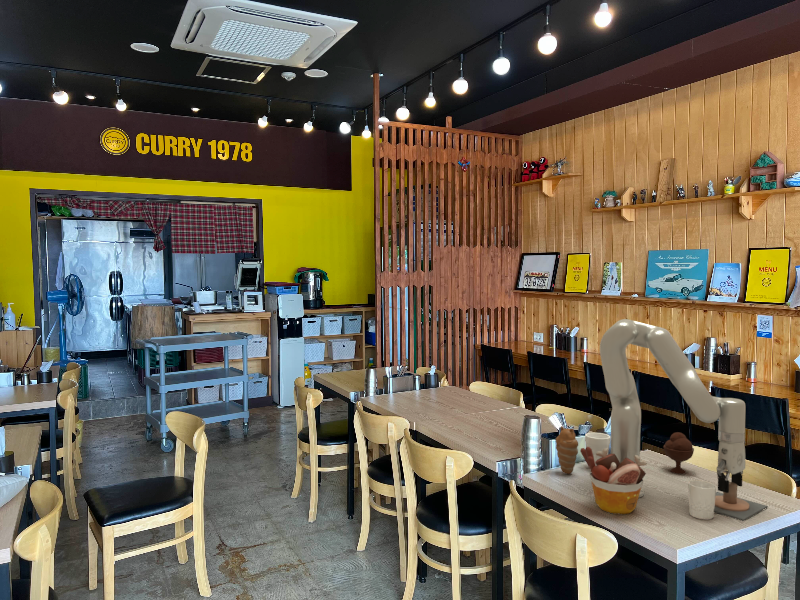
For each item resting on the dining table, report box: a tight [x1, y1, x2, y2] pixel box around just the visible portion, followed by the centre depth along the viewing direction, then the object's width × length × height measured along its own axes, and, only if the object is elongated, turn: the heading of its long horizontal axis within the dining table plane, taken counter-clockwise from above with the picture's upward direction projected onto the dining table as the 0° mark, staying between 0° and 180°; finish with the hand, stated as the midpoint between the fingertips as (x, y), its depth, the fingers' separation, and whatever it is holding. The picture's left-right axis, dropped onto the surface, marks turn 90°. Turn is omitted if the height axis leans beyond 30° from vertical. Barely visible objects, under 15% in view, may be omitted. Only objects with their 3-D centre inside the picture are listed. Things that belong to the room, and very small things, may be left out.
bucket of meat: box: [579, 447, 648, 515], centre depth 191 cm, size 20×16×20 cm
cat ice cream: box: [554, 425, 579, 475], centre depth 225 cm, size 9×8×18 cm
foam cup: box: [584, 432, 611, 466], centre depth 232 cm, size 10×9×13 cm
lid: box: [715, 481, 749, 511], centre depth 193 cm, size 11×11×7 cm
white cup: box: [687, 479, 717, 521], centre depth 186 cm, size 8×8×10 cm
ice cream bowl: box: [662, 431, 695, 475], centre depth 228 cm, size 11×11×15 cm
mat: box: [714, 491, 769, 522], centre depth 194 cm, size 18×16×1 cm
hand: (730, 488), depth 193 cm, fingers open, 9 cm apart
